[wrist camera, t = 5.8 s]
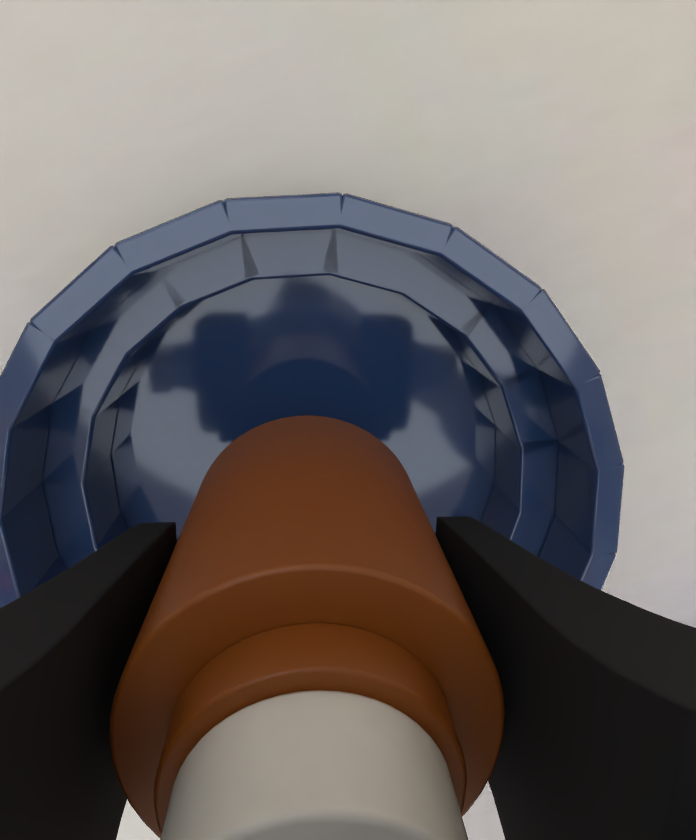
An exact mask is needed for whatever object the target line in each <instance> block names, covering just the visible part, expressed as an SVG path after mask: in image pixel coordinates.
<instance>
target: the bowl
mask: <svg viewBox="0 0 696 840" xmlns="http://www.w3.org/2000/svg"><path fill="white" fill-rule="evenodd" d="M307 415H313V416H324V417H330V418H334V419H339V420H342V421H345V422H348V423H351V424H354V425H356V426H358V427H360V428H362V429H364V430H366V431H368V432H369V433H371V434H372V435H374V436H375V437H376V438H378V439H379V440H381V441H382V442H383V443H384V444H385V445H386V446H387V447H388V448H389V449H390V450H391V451H392V452H393V453H394V455H395V456H396V457H397V458H398V459H399V461H400V462H401V464H402V466H403V467H404V469H405V470H406V472H407V474H408V477H409V479H410V481H411V483H412V485H413V487H414V490H415V492H416V494H417V496H418V498H419V500H420V503H421V505H422V507H423V509H424V511H425V513H426V516H427V518H428V520H429V522H430V524H431V526H432V529H433V531H434V533H435V535H436V521H437V517H456V516H469V517H471V518H474V519H476V520H478V521H480V522H481V523H483V524H485V525H486V526H488V527H490V528H492V529H493V530H495V531H496V532H498V533H500V534H501V535H503V536H505V537H506V538H508V539H509V540H511V541H513V542H514V543H516V544H517V545H519V546H521V547H522V548H524V549H526V550H527V551H529V552H531V553H532V554H534V555H536V556H537V557H539V558H541V559H543V560H544V561H546V562H548V563H549V564H551V565H553V566H555V567H557V568H558V569H560V570H562V571H564V572H566V573H568V574H570V575H571V576H573V577H575V578H577V579H579V580H581V581H583V582H585V583H587V584H589V585H591V586H593V587H595V588H597V589H599V590H601V589H602V586H603V584H604V582H605V579H606V577H607V575H608V572H609V570H610V568H611V565H612V563H613V561H614V558H615V553H616V552H617V545H618V533H619V522H620V510H621V498H622V487H623V475H624V465H623V458H622V454H621V450H620V446H619V443H618V439H617V435H616V431H615V427H614V423H613V419H612V415H611V412H610V408H609V404H608V400H607V396H606V392H605V388H604V384H603V381H602V377H601V374H600V370H599V369H598V367H597V366H596V364H595V363H594V361H593V360H592V358H591V357H590V356H589V354H588V353H587V351H586V350H585V348H584V347H583V345H582V344H581V342H580V341H579V339H578V338H577V337H576V335H575V334H574V332H573V331H572V329H571V328H570V326H569V325H568V323H567V322H566V321H565V319H564V318H563V316H562V315H561V313H560V312H559V310H558V309H557V307H556V306H555V304H554V303H553V302H552V300H551V299H550V297H549V296H548V294H547V293H546V291H545V290H543V289H541V287H540V286H539V285H538V284H536V283H535V282H533V281H532V280H531V279H529V278H528V277H527V276H525V275H524V274H522V273H521V272H520V271H518V270H517V269H515V268H514V267H513V266H511V265H510V264H508V263H507V262H506V261H504V260H503V259H501V258H500V257H499V256H497V255H496V254H494V253H493V252H492V251H490V250H489V249H488V248H486V247H485V246H483V245H482V244H481V243H479V242H478V241H476V240H475V239H474V238H472V237H471V236H469V235H468V234H467V233H465V232H464V231H462V230H461V229H460V228H458V227H453V225H452V224H450V223H447V222H443V221H440V220H436V219H433V218H430V217H426V216H423V215H419V214H416V213H412V212H409V211H405V210H402V209H399V208H395V207H392V206H388V205H385V204H381V203H378V202H374V201H371V200H368V199H364V198H361V197H357V196H354V195H350V194H343V195H342V194H341V193H320V194H301V195H282V196H263V197H244V198H227V199H225V200H224V201H223V200H218V201H216V202H214V203H211V204H209V205H206V206H204V207H201V208H199V209H196V210H194V211H192V212H189V213H187V214H184V215H182V216H179V217H177V218H175V219H172V220H170V221H167V222H165V223H162V224H160V225H158V226H155V227H153V228H150V229H148V230H145V231H143V232H141V233H138V234H136V235H133V236H131V237H128V238H126V239H123V240H121V241H119V242H117V243H116V244H115V245H113V246H110V247H109V248H108V249H107V250H105V251H104V252H103V253H102V254H101V255H100V256H99V257H98V258H97V259H96V260H94V261H93V262H92V263H91V264H90V265H89V266H88V267H87V268H86V269H85V270H83V271H82V272H81V273H80V274H79V275H78V276H77V277H76V278H75V279H74V280H72V281H71V282H70V283H69V284H68V285H67V286H66V287H65V288H64V289H63V290H62V291H60V292H59V293H58V294H57V295H56V296H55V297H54V298H53V299H52V300H51V301H49V302H48V303H47V304H46V305H45V306H44V307H43V308H42V309H41V310H40V311H38V312H37V313H36V314H35V315H34V316H33V317H32V318H31V320H30V322H28V323H27V324H26V326H25V328H24V330H23V332H22V334H21V336H20V338H19V340H18V342H17V344H16V346H15V348H14V350H13V352H12V354H11V356H10V358H9V360H8V362H7V364H6V366H5V368H4V370H3V372H2V374H1V375H0V608H1V607H3V606H5V605H7V604H9V603H11V602H13V601H14V600H16V599H18V598H20V597H22V596H23V595H25V594H27V593H28V592H30V591H32V590H33V589H35V588H37V587H39V586H40V585H42V584H44V583H45V582H47V581H49V580H50V579H52V578H54V577H55V576H57V575H59V574H61V573H62V572H64V571H66V570H67V569H69V568H70V567H72V566H74V565H75V564H77V563H78V562H80V561H81V560H83V559H84V558H86V557H87V556H89V555H90V554H92V553H94V552H95V551H97V550H98V549H100V548H101V547H103V546H104V545H106V544H107V543H109V542H110V541H112V540H113V539H115V538H116V537H118V536H119V535H121V534H123V533H124V532H126V531H127V530H129V529H131V528H132V527H134V526H136V525H138V524H140V523H156V522H176V535H177V541H178V538H179V536H180V534H181V531H182V529H183V526H184V524H185V522H186V519H187V517H188V515H189V512H190V510H191V507H192V505H193V503H194V500H195V498H196V495H197V493H198V491H199V488H200V486H201V483H202V481H203V479H204V477H205V475H206V473H207V471H208V469H209V468H210V466H211V465H212V463H213V462H214V461H215V459H216V458H217V457H218V455H219V454H220V453H221V452H222V451H223V450H224V449H225V448H226V447H227V446H228V445H229V444H231V443H232V442H233V441H234V440H236V439H237V438H238V437H239V436H241V435H243V434H244V433H246V432H248V431H249V430H251V429H253V428H255V427H257V426H260V425H262V424H264V423H267V422H270V421H273V420H277V419H280V418H286V417H292V416H307Z"/></svg>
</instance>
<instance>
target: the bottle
mask: <svg viewBox="0 0 696 840" xmlns="http://www.w3.org/2000/svg"><path fill="white" fill-rule="evenodd" d="M504 717H505V709H504V697H503V690H502V686H501V682H500V678H499V674H498V671H497V669H496V666H495V664H494V662H493V659H492V657H491V655H490V652H489V650H488V648H487V646H486V644H485V641H484V639H483V637H482V635H481V633H480V631H479V628H478V626H477V624H476V622H475V620H474V618H473V615H472V613H471V611H470V609H469V607H468V605H467V602H466V600H465V598H464V596H463V594H462V592H461V589H460V587H459V585H458V583H457V581H456V579H455V576H454V574H453V572H452V570H451V568H450V566H449V563H448V561H447V559H446V557H445V555H444V552H443V550H442V548H441V546H440V544H439V542H438V539H437V537H436V535H435V533H434V531H433V529H432V526H431V524H430V522H429V520H428V518H427V516H426V513H425V511H424V509H423V507H422V505H421V503H420V500H419V498H418V496H417V494H416V492H415V490H414V487H413V485H412V483H411V481H410V479H409V477H408V474H407V472H406V470H405V469H404V467H403V466H402V464H401V462H400V461H399V459H398V458H397V457H396V456H395V455H394V453H393V452H392V451H391V450H390V449H389V448H388V447H387V446H386V445H385V444H384V443H383V442H382V441H381V440H379V439H378V438H376V437H375V436H374V435H372V434H371V433H369V432H368V431H366V430H364V429H362V428H360V427H358V426H356V425H354V424H351V423H348V422H345V421H342V420H339V419H334V418H330V417H324V416H313V415H307V416H292V417H286V418H280V419H277V420H273V421H270V422H267V423H264V424H262V425H260V426H257V427H255V428H253V429H251V430H249V431H248V432H246V433H244V434H243V435H241V436H239V437H238V438H237V439H236V440H234V441H233V442H232V443H231V444H229V445H228V446H227V447H226V448H225V449H224V450H223V451H222V452H221V453H220V454H219V455H218V457H217V458H216V459H215V461H214V462H213V463H212V465H211V466H210V468H209V469H208V471H207V473H206V475H205V477H204V479H203V481H202V483H201V486H200V488H199V491H198V493H197V495H196V498H195V500H194V503H193V505H192V507H191V510H190V512H189V515H188V517H187V519H186V522H185V524H184V526H183V529H182V531H181V534H180V536H179V538H178V541H177V543H176V546H175V548H174V550H173V553H172V555H171V558H170V560H169V562H168V565H167V567H166V570H165V572H164V574H163V577H162V579H161V582H160V584H159V586H158V589H157V591H156V593H155V596H154V598H153V601H152V603H151V605H150V608H149V610H148V613H147V615H146V617H145V620H144V622H143V625H142V627H141V629H140V632H139V634H138V637H137V639H136V641H135V644H134V646H133V648H132V651H131V653H130V656H129V658H128V660H127V663H126V665H125V668H124V670H123V672H122V675H121V677H120V680H119V683H118V686H117V689H116V692H115V695H114V698H113V703H112V709H111V715H110V747H111V753H112V759H113V765H114V768H115V771H116V774H117V777H118V780H119V783H120V786H121V788H122V790H123V791H124V793H125V795H126V797H127V799H128V801H129V803H130V804H131V806H132V807H133V809H134V810H135V811H136V813H137V814H138V815H139V817H140V818H141V819H142V821H143V822H144V823H145V824H146V825H147V826H148V827H149V828H150V829H151V830H152V831H153V832H154V833H155V834H156V835H157V836H158V837H159V838H161V840H468V837H467V834H466V830H465V826H464V823H463V819H462V816H463V815H464V814H465V813H466V812H467V811H468V810H469V808H470V807H471V806H472V804H473V803H474V802H475V800H476V799H477V798H478V796H479V795H480V794H481V792H482V790H483V789H484V787H485V785H486V783H487V781H488V780H489V778H490V776H491V774H492V771H493V769H494V766H495V764H496V761H497V759H498V756H499V752H500V747H501V743H502V739H503V731H504Z"/></svg>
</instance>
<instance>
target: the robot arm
mask: <svg viewBox="0 0 696 840" xmlns="http://www.w3.org/2000/svg"><path fill="white" fill-rule="evenodd" d="M436 537H437V539H438V542H439V544H440V546H441V548H442V550H443V552H444V555H445V557H446V559H447V561H448V563H449V566H450V568H451V570H452V572H453V574H454V576H455V579H456V581H457V583H458V585H459V587H460V589H461V592H462V594H463V596H464V598H465V600H466V602H467V605H468V607H469V609H470V611H471V613H472V615H473V618H474V620H475V622H476V624H477V626H478V628H479V631H480V633H481V635H482V637H483V639H484V641H485V644H486V646H487V648H488V650H489V652H490V655H491V657H492V659H493V662H494V664H495V666H496V669H497V671H498V674H499V678H500V682H501V686H502V690H503V697H504V709H505V717H504V731H503V739H502V743H501V747H500V752H499V756H498V759H497V761H496V764H495V766H494V769H493V771H492V774H491V776H490V778H489V780H488V782H489V784H490V787H491V790H492V793H493V797H494V800H495V804H496V807H497V811H498V814H499V818H500V822H501V825H502V829H503V833H504V836H505V840H696V628H693V627H691V626H688V625H685V624H682V623H679V622H676V621H673V620H670V619H668V618H665V617H662V616H660V615H657V614H654V613H652V612H649V611H647V610H644V609H642V608H640V607H637V606H635V605H633V604H630V603H628V602H626V601H623V600H621V599H619V598H616V597H614V596H612V595H609V594H607V593H605V592H603V591H601V590H599V589H597V588H595V587H593V586H591V585H589V584H587V583H585V582H583V581H581V580H579V579H577V578H575V577H573V576H571V575H570V574H568V573H566V572H564V571H562V570H560V569H558V568H557V567H555V566H553V565H551V564H549V563H548V562H546V561H544V560H543V559H541V558H539V557H537V556H536V555H534V554H532V553H531V552H529V551H527V550H526V549H524V548H522V547H521V546H519V545H517V544H516V543H514V542H513V541H511V540H509V539H508V538H506V537H505V536H503V535H501V534H500V533H498V532H496V531H495V530H493V529H492V528H490V527H488V526H486V525H485V524H483V523H481V522H480V521H478V520H476V519H474V518H471V517H469V516H456V517H437V521H436ZM176 543H177V535H176V522H156V523H140V524H138V525H136V526H134V527H132V528H131V529H129V530H127V531H126V532H124V533H123V534H121V535H119V536H118V537H116V538H115V539H113V540H112V541H110V542H109V543H107V544H106V545H104V546H103V547H101V548H100V549H98V550H97V551H95V552H94V553H92V554H90V555H89V556H87V557H86V558H84V559H83V560H81V561H80V562H78V563H77V564H75V565H74V566H72V567H70V568H69V569H67V570H66V571H64V572H62V573H61V574H59V575H57V576H55V577H54V578H52V579H50V580H49V581H47V582H45V583H44V584H42V585H40V586H39V587H37V588H35V589H33V590H32V591H30V592H28V593H27V594H25V595H23V596H22V597H20V598H18V599H16V600H14V601H13V602H11V603H9V604H7V605H5V606H3V607H1V608H0V840H116V837H117V833H118V829H119V825H120V821H121V817H122V814H123V811H124V807H125V804H126V801H127V797H126V795H125V793H124V791H123V790H122V788H121V786H120V783H119V780H118V777H117V774H116V771H115V768H114V765H113V759H112V753H111V747H110V715H111V709H112V703H113V698H114V695H115V692H116V689H117V686H118V683H119V680H120V677H121V675H122V672H123V670H124V668H125V665H126V663H127V660H128V658H129V656H130V653H131V651H132V648H133V646H134V644H135V641H136V639H137V637H138V634H139V632H140V629H141V627H142V625H143V622H144V620H145V617H146V615H147V613H148V610H149V608H150V605H151V603H152V601H153V598H154V596H155V593H156V591H157V589H158V586H159V584H160V582H161V579H162V577H163V574H164V572H165V570H166V567H167V565H168V562H169V560H170V558H171V555H172V553H173V550H174V548H175V546H176Z"/></svg>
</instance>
